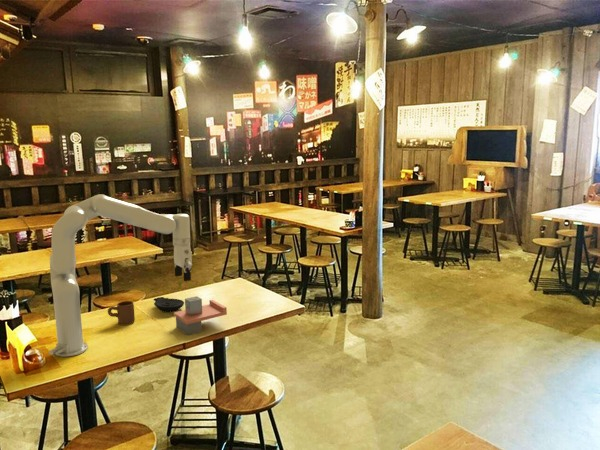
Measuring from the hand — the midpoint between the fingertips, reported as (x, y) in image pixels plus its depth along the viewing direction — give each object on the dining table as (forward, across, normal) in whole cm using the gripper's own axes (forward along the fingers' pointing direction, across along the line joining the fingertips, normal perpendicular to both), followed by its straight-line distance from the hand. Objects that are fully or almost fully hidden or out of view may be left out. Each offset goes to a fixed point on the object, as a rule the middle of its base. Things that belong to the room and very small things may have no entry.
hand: (182, 278), depth 225 cm
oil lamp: (+24, +29, -3) cm, 38 cm away
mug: (+24, +24, +21) cm, 40 cm away
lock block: (+17, -2, -4) cm, 17 cm away
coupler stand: (+24, -2, -7) cm, 25 cm away
